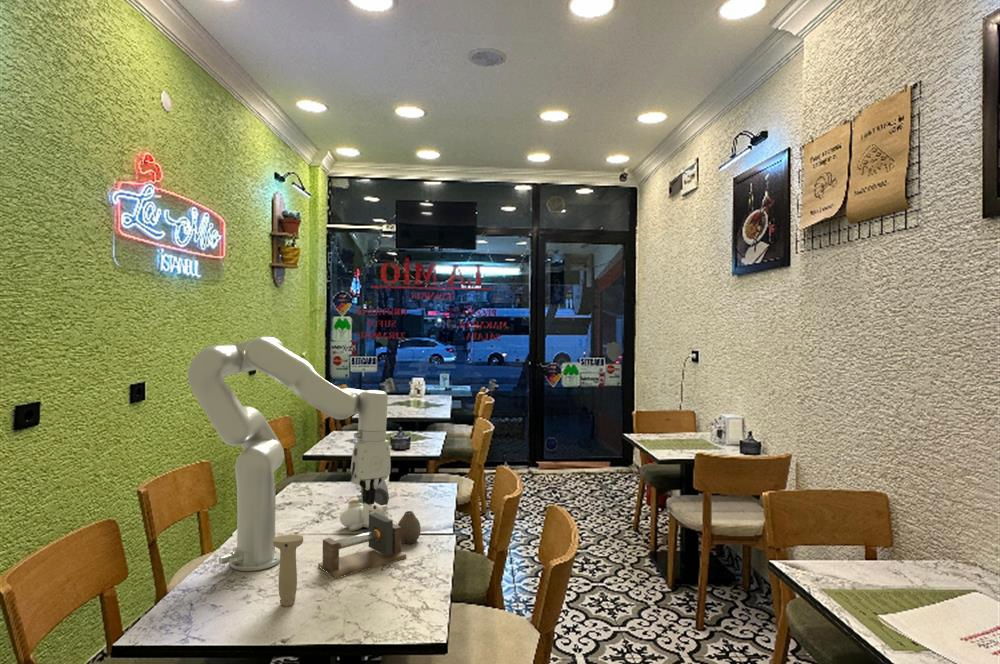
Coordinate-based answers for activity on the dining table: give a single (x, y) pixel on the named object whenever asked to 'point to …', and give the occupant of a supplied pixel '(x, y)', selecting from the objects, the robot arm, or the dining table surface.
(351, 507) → the cat figurine
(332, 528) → the dining table surface
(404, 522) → the vase
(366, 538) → the pipe
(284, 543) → the handle
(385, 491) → the bluetooth speaker
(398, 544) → the stand
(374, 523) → the collar
